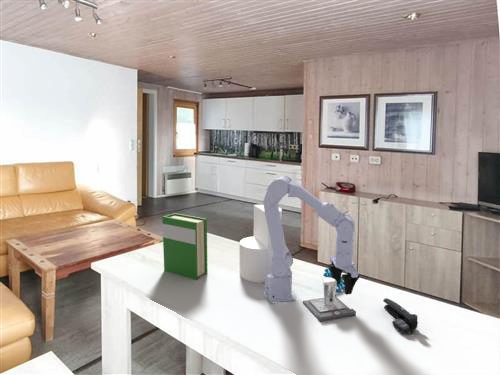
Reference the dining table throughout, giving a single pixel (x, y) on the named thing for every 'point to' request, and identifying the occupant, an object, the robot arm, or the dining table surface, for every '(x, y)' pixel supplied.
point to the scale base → (330, 315)
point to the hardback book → (185, 245)
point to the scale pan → (324, 308)
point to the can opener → (401, 317)
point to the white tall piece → (257, 249)
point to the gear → (331, 277)
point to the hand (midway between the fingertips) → (342, 288)
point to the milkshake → (329, 291)
